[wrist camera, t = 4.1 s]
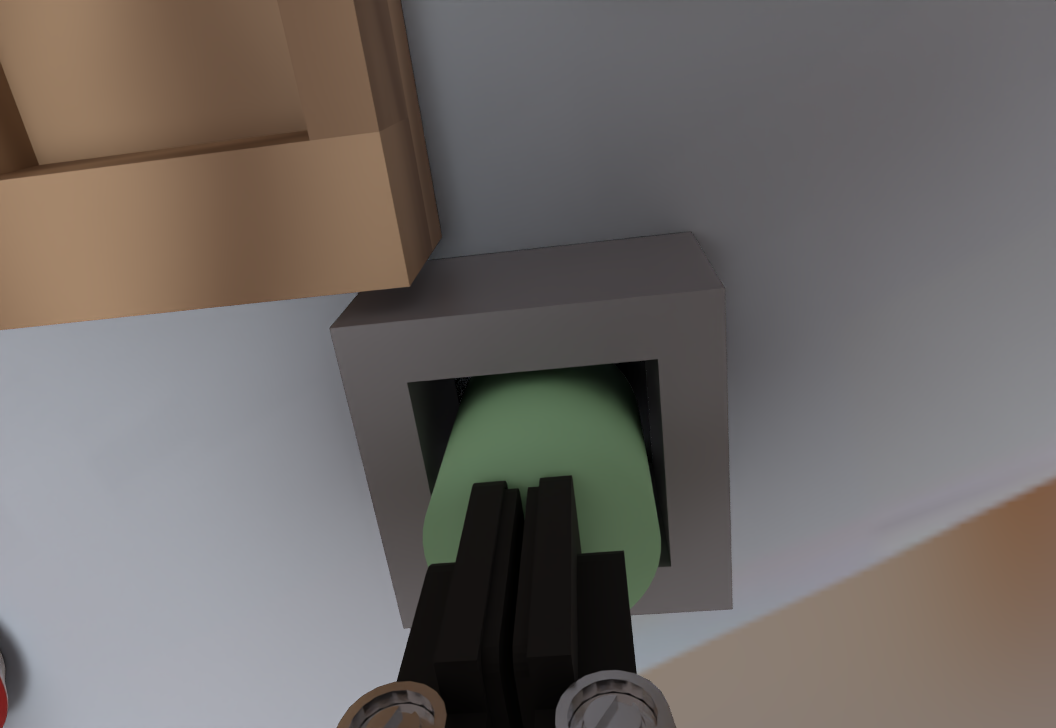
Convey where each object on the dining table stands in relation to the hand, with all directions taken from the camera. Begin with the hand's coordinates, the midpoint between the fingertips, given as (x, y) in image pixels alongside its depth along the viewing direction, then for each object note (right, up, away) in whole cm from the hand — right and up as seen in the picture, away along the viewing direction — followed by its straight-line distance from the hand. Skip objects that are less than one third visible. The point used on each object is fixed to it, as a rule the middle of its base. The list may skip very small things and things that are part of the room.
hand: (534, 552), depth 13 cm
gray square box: (0, +3, +6) cm, 6 cm away
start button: (0, +2, +4) cm, 4 cm away
